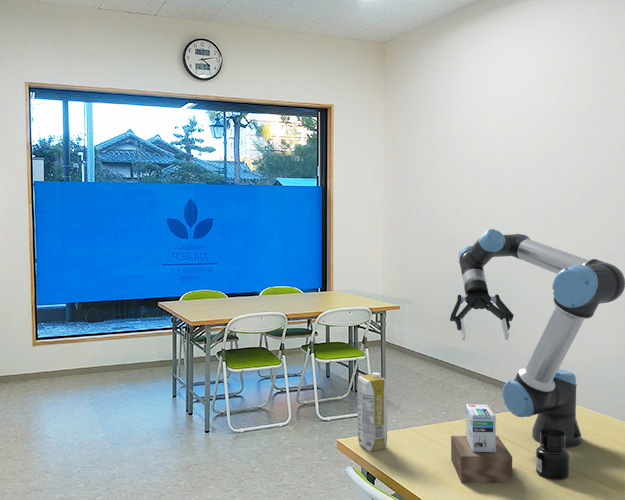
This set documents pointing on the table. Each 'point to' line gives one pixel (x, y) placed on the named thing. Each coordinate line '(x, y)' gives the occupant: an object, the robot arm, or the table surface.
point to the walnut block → (481, 462)
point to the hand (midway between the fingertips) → (485, 337)
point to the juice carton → (372, 411)
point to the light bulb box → (480, 428)
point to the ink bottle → (552, 455)
